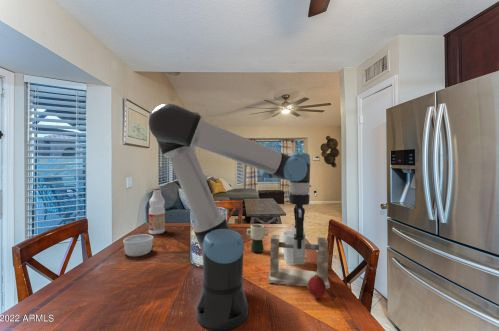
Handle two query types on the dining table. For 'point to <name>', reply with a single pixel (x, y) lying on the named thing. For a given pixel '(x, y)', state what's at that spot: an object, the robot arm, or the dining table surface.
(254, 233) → the character mug
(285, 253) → the foam cup
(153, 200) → the fruit juice
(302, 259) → the grey u-shaped block
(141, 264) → the dining table surface
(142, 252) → the ramekin
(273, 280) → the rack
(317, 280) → the onion
